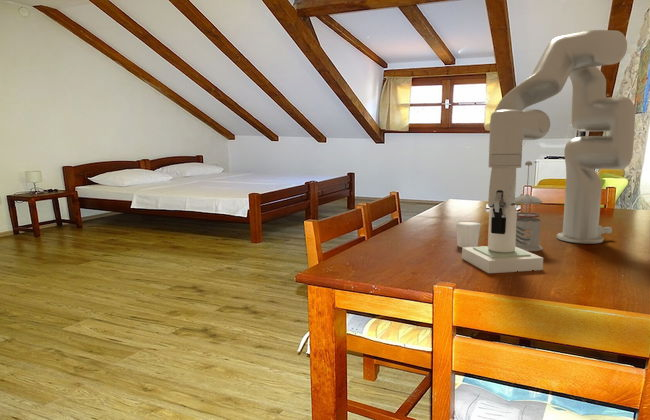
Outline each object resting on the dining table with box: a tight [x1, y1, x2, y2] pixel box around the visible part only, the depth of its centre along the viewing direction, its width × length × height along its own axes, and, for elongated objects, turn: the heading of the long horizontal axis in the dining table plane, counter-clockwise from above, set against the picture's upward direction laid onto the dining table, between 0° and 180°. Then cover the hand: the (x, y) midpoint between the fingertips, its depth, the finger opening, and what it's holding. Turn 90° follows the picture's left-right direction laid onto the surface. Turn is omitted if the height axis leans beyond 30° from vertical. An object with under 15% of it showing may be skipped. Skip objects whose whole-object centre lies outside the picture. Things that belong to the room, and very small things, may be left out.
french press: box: [514, 160, 543, 252], centre depth 131 cm, size 10×12×25 cm
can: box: [487, 202, 518, 253], centre depth 114 cm, size 6×6×12 cm
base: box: [461, 245, 544, 274], centre depth 115 cm, size 14×14×3 cm
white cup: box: [455, 220, 481, 248], centre depth 134 cm, size 7×7×7 cm
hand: (501, 229), depth 114 cm, fingers open, 9 cm apart
